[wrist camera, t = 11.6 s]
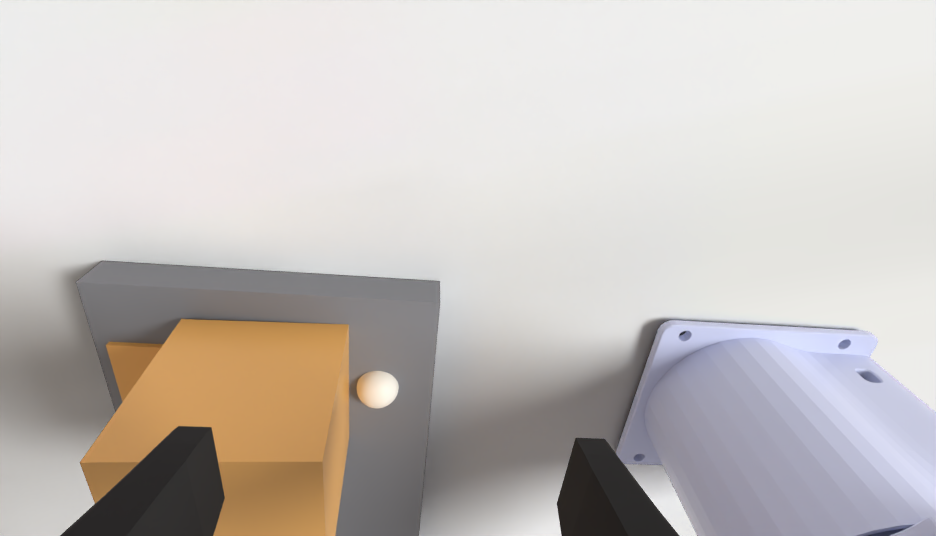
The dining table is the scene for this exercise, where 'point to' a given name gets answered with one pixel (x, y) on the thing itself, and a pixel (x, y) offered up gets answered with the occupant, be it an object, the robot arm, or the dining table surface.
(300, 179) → the dining table surface
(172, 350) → the orange cube
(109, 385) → the panel
